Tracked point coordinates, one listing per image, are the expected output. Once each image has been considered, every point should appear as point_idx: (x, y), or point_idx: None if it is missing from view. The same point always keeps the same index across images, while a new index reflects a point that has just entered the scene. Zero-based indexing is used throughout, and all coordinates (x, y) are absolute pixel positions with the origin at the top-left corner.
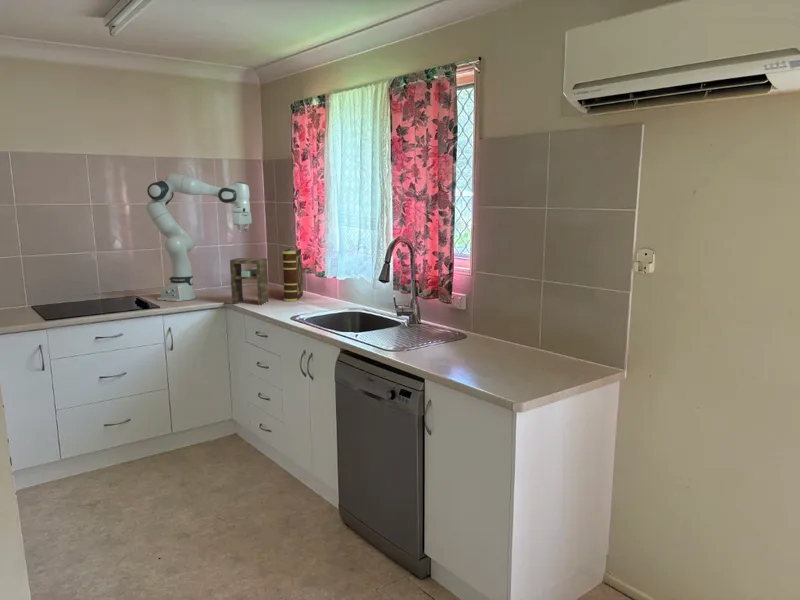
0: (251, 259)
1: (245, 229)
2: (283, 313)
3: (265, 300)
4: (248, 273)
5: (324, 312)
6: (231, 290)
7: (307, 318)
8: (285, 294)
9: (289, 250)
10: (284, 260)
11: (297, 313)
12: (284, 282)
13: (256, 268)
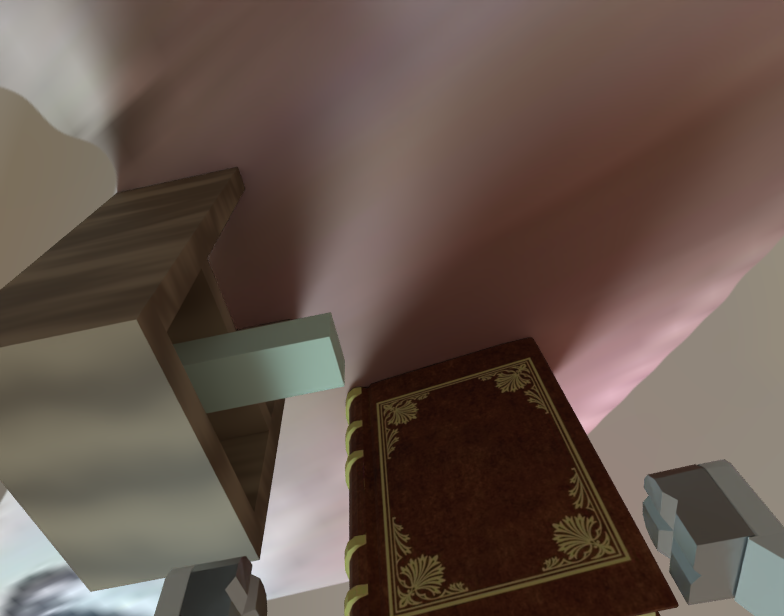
0: (108, 508)
1: (680, 544)
2: None
3: None
4: None
5: None
6: (76, 227)
7: (69, 611)
8: (350, 422)
9: (630, 599)
10: (351, 612)
11: None
12: (352, 469)
13: (286, 386)
